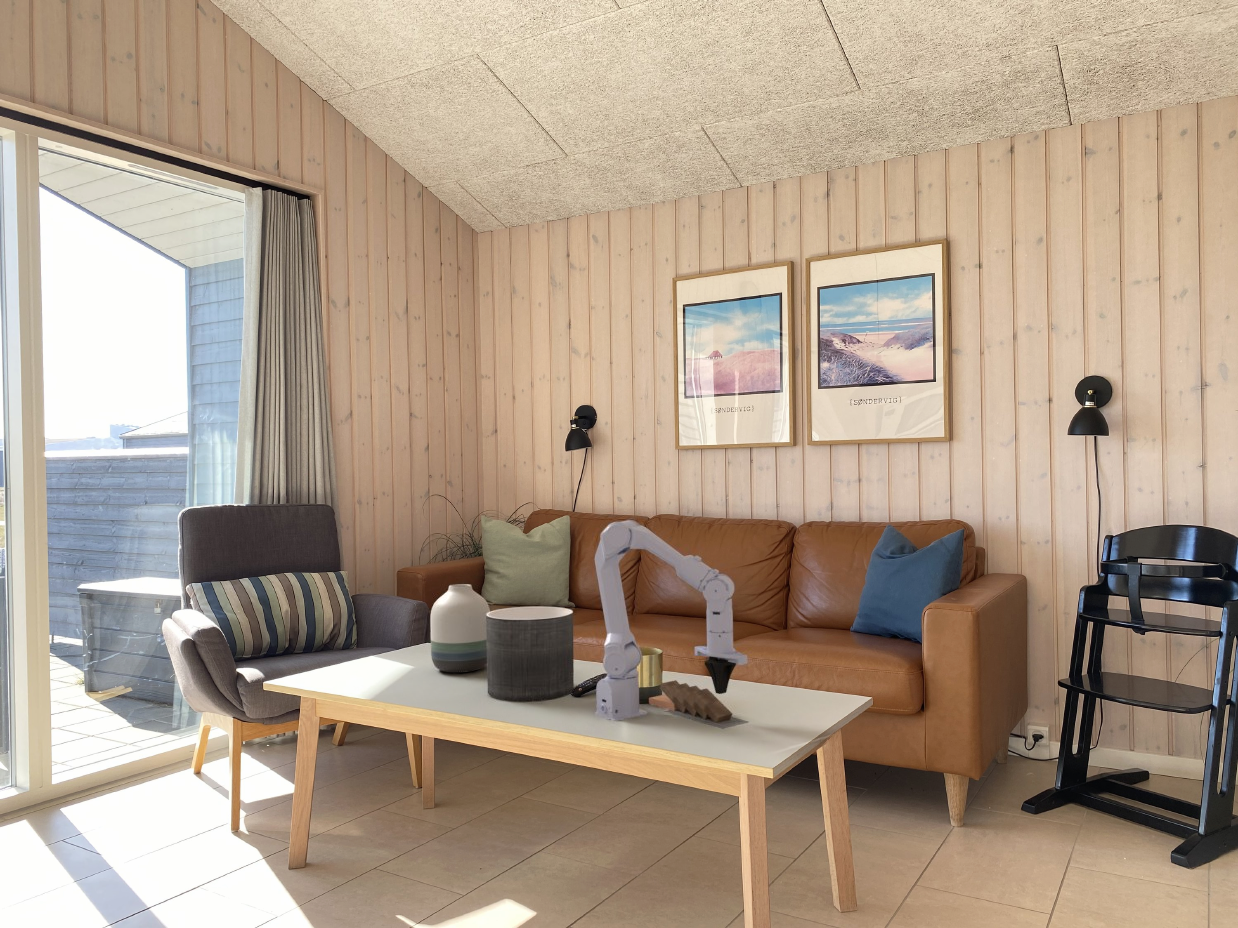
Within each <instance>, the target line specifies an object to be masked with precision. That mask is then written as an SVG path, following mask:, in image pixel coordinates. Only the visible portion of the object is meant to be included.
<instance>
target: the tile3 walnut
mask: <svg viewBox="0 0 1238 928" xmlns="http://www.w3.org/2000/svg"><path fill="white" fill-rule="evenodd" d="M687 687H691V686H690V685H689V684H688V683H685V682H684V683H679V685H675V686H672V688H671V690H670V692H671V693H672V694H673V695H674V696H675V697H676V698H677V699H678V701H679V702H680V703H681V704H682V705H683V706H684V707H685V708H686V709H687V710H688V711H689V712H690V713H691V714H692V715H693V716H694V717H695V716H699V715H700V714H699V713H698V712H697V711H696V710H695V709H694V708H693V707H692V706H691V705H690V704H689V703H688V702H687V701H686V700H685V699H684V698H683V697H682V696H681V695H680V693H681V690H682V689H683V688H687Z"/></svg>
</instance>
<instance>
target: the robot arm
mask: <svg viewBox="0 0 1238 928" xmlns="http://www.w3.org/2000/svg"><path fill="white" fill-rule="evenodd" d="M599 534H600V535H599V536H600V541H599V543H598V546H597V548H596V552H595V555H594V563H595V569H596V576H597V581H598V587H599V594H600V600H601V606H602V610H603V616H604V624H605V629H606V639H605V641H604V645H603V648H604V657H603V660H602V665H603V668H604V671H605V672H606V676H605V677H604V678H602V679H600V680H598V682H597V684H596V691H595V695H596V697H595V698H596V700H595V701H596V711H595V712H594V715H595V716H598V717H602V718H605V719H608V720H611V721H614V722H615V721H616V722H617V721H621V720H622V721H623V720H627V719H631V718H635V717H638V716H644V715H647V714H648V711H646V710H643V709H640V685H639V683H640V681H639V680H640V679H639V677H640V676H639V670H638V667H639V666H640V663H642V658H643V657H642V656H643V654H642V650H641V648H640V647H639V646H638V644H637V642H636V638H635V635H634V633H632V632H631V630H630V624H629V618H628V613H627V607H626V600H625V595H624V589H623V584H622V577H621V571H620V566H619V564H620V561H621V560H622V559H623V558H624V556H625V555H626V554H627V552H628V551H630V550H631V549H632V550H646V551H647V552H649V553H651V554H653V555H655V556H656V557H658V558H659V559H661V560H662V561H664V562H665V563H667V564H668V565H670V566H672V567H673V568H674V569H675V573H676V576H677V577H678V578H679V579H681V580H682V581H684V582H685V583H687V584H688V585H689V586H691V587H693V588H694V589H695V590H697V592H700V593H702V596H703V597H704V599H705V601H706V646H705V645H704V646H703V645H698V646H694V656H696V657H699V656H701V657H705V658H708V659H707V660H705V661H704V666H705V668H706V669H707V671H708V672H709V675H710V677H711V680H712V684H713V688H714V691H715V694H718V695H722V694H726V693H727V692H728V687H729V683H730V679H731V675H732V673H733V671H734V669H735V667H736V666H737V665H738V666H744V665H748V655H747V654H744V653H741V652H739V651H737V650H736V648H734V620H733V619H734V618H733V612H734V611H733V602H732V601H733V598H732V597H733V594H734V593H735V583H734V581H733V580H732V578H730V577H729V576H728V575H727V574H724V573H720V571H719V570H718V569H716V568H711V567H710V566H709V565H707V564H705V563H704V562H703V561H702V557H700V556H699V555H695V556H694V555H692V554H689V555H683V554H682V553H680V552H679V551H678V550H676V549H675V548H673V546H671V545H670V544H668V543H667V542H665V541H664V540H663V539H662V538H661V537H659V536H658V535H656V534H655V533H654V532H652V531H651V530H650V529H648V528H647V527H645V526H644V525H641V524H639V522H637V521H635V520H632V519H627V520H624V521H614V522H613V521H612V522H610V523H608V525H607V526H606V527H605V528H604V529H603V530H602V532H601V533H599Z"/></svg>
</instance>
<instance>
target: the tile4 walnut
mask: <svg viewBox="0 0 1238 928" xmlns="http://www.w3.org/2000/svg"><path fill="white" fill-rule="evenodd" d="M679 684H680V683H679V682H678V681H677V680H670V681H666V682H661V685H660V689H659V690H661V692H662V693H663V694H664V695H666V696H667V697H668V698H669V699H670V700H671V701H672V702H673V703H674V704H675V705H676V706H677V707H678V708H679V709H680V710H681V711H682V712H683V713H686V712H689V711H688V710H687V709H686V708H685V707H684V706H683V705H682V704H681V703H680V702H679V701H678V699H677V698H676V697H675V696H674V695H673V694H672V693H671V692H670V690H671V688H672V686H675V685H679Z"/></svg>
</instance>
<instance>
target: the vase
mask: <svg viewBox="0 0 1238 928" xmlns="http://www.w3.org/2000/svg"><path fill="white" fill-rule="evenodd" d="M488 612H491V610H490V606H489V604H488V602H487V600H486V599H485V598H484V597H483V596H482V595H480V594H479V593H477V592H476V591H474V590H473V586H472V584H467V583H466V584H464V583H462V584H460V583H459V584H450V585H449V586H448V590H447V591H445V593H443V594H442V595H441V596H440V597H439V598H438V599H436V601H435V602H434V603H433V606H432V607H431V611H430V655H431V660H432V663H433V666H434V667H435V668H436V669H438V670H439V671H442V672H447V673H468V672H473V671H477V670H478V671H479V670H480V669H484V667H486V666H487V640H486V614H487V613H488Z"/></svg>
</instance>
